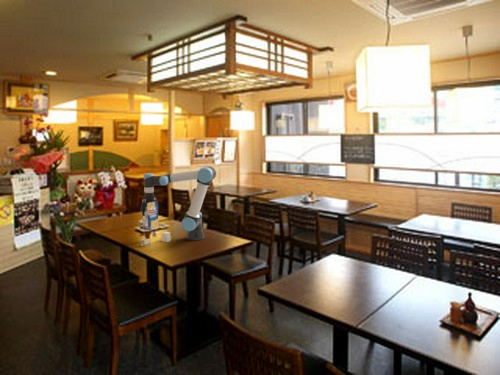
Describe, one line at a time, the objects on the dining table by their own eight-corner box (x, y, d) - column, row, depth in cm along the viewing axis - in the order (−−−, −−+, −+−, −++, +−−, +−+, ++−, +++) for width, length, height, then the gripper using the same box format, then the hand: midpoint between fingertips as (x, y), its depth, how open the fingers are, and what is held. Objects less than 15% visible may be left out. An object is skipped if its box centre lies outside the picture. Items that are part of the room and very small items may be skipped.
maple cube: (150, 245, 294) (150, 239, 293) (145, 246, 290) (144, 240, 289) (146, 244, 297) (146, 238, 296) (141, 245, 293) (140, 239, 292)
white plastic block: (170, 240, 308) (170, 232, 308) (167, 242, 304) (167, 233, 303) (165, 239, 310) (165, 231, 309) (162, 241, 306) (161, 233, 305)
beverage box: (142, 228, 302) (141, 202, 300) (153, 226, 311) (151, 200, 309) (148, 229, 299) (147, 203, 296) (158, 227, 308) (157, 201, 305)
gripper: (157, 190, 313) (158, 215, 316) (134, 193, 294) (135, 220, 297) (163, 190, 308) (164, 216, 311) (140, 194, 290) (141, 221, 292)
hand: (150, 218), depth 304 cm, fingers closed on beverage box, 11 cm apart
